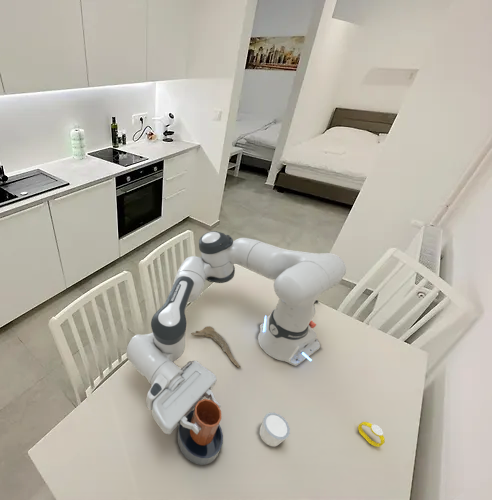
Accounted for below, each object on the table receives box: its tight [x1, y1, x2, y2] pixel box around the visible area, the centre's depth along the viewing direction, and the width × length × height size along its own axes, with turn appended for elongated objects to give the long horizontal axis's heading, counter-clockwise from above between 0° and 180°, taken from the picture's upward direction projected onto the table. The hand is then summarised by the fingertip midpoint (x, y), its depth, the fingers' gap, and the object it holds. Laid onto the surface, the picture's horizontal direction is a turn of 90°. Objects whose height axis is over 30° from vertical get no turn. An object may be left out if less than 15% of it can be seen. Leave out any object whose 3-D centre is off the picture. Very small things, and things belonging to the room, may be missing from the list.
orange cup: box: [190, 398, 222, 445], centre depth 74 cm, size 6×6×12 cm
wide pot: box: [177, 409, 224, 466], centre depth 79 cm, size 12×12×6 cm
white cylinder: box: [259, 412, 291, 447], centre depth 80 cm, size 7×7×7 cm
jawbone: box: [190, 325, 242, 369], centre depth 106 cm, size 9×20×2 cm, turn 49°
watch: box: [357, 421, 386, 448], centre depth 80 cm, size 6×3×6 cm, turn 27°
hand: (209, 419), depth 71 cm, fingers closed on orange cup, 6 cm apart
